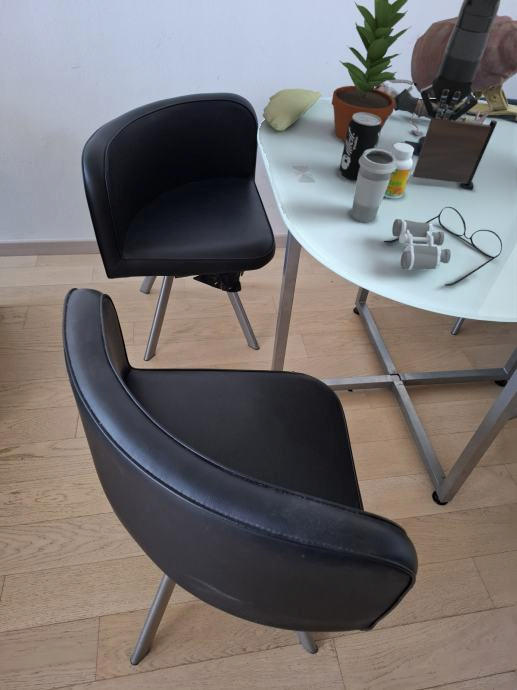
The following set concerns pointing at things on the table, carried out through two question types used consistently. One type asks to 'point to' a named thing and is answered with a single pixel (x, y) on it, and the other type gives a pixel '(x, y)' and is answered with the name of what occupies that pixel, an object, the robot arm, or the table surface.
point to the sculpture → (496, 64)
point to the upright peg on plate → (479, 158)
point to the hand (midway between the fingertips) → (434, 135)
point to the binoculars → (418, 254)
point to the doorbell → (416, 145)
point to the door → (450, 150)
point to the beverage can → (359, 142)
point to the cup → (372, 183)
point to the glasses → (464, 240)
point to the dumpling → (288, 106)
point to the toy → (418, 103)
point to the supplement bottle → (400, 170)
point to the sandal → (492, 103)
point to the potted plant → (369, 68)
